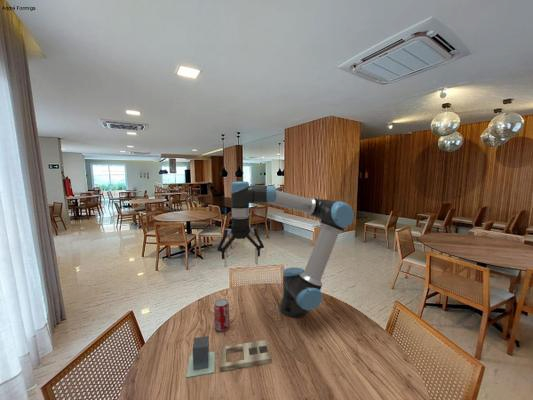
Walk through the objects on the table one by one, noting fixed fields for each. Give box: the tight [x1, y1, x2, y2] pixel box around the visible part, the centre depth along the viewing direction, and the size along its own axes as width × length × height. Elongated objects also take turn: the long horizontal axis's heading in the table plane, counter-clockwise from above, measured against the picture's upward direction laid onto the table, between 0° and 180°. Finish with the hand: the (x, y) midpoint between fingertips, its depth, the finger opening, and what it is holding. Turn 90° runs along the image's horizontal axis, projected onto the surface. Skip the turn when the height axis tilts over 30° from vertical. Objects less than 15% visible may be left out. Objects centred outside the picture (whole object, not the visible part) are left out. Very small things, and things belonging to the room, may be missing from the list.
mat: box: [185, 351, 216, 379], centre depth 85 cm, size 10×10×1 cm
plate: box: [219, 339, 272, 373], centre depth 88 cm, size 20×10×2 cm, turn 102°
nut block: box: [192, 335, 210, 371], centre depth 85 cm, size 6×6×9 cm
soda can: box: [213, 298, 231, 332], centre depth 106 cm, size 7×7×13 cm
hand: (241, 264), depth 96 cm, fingers open, 13 cm apart
